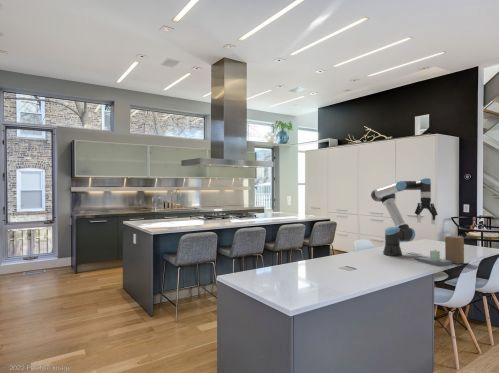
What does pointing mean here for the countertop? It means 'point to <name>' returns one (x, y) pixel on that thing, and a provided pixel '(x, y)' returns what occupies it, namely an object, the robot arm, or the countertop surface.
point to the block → (454, 249)
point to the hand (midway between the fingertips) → (425, 223)
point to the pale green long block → (435, 255)
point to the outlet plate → (437, 263)
